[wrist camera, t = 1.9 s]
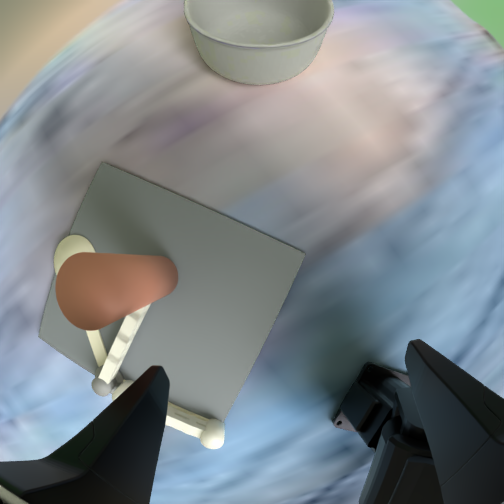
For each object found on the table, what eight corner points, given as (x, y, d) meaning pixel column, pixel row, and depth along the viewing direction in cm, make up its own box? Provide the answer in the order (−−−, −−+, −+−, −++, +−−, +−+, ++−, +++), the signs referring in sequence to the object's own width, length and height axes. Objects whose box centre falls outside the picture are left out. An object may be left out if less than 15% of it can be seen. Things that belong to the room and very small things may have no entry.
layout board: (304, 253, 22) (307, 253, 22) (213, 437, 22) (213, 442, 21) (98, 161, 22) (94, 158, 21) (34, 338, 21) (30, 340, 20)
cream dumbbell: (228, 421, 22) (227, 436, 19) (220, 435, 22) (218, 451, 19) (125, 374, 21) (115, 385, 19) (120, 390, 21) (109, 402, 19)
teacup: (328, 92, 23) (359, 38, 15) (206, 114, 22) (195, 55, 14) (281, -1, 23) (291, -53, 15) (182, 13, 23) (171, -41, 15)
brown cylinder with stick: (120, 396, 20) (56, 472, 9) (90, 376, 20) (14, 438, 9) (185, 269, 21) (132, 278, 10) (151, 248, 21) (73, 237, 10)
